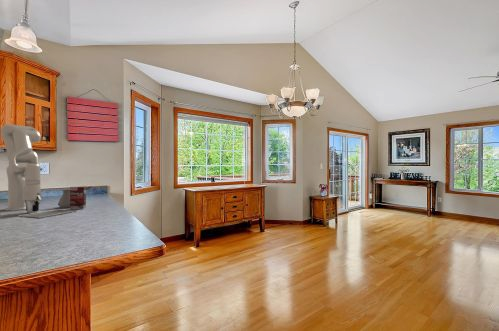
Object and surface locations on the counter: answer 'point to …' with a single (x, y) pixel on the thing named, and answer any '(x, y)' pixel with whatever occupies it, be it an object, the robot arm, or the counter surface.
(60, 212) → the throwing mat
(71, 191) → the supplement box
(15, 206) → the robot arm
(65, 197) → the coffee pot
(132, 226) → the counter surface
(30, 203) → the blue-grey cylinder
